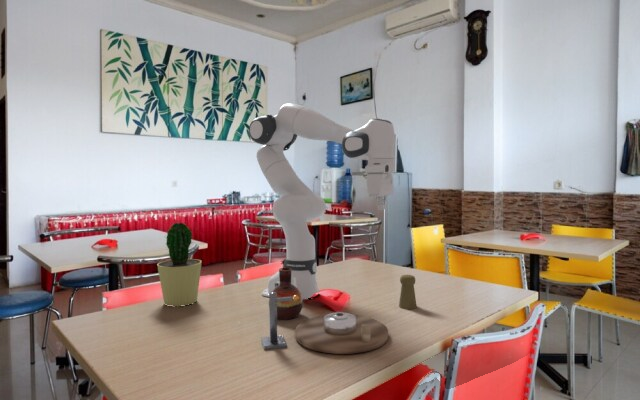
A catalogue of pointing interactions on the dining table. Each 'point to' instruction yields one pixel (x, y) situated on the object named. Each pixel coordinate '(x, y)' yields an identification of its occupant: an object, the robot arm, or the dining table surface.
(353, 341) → the lazy susan
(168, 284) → the potted cactus
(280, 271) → the vase
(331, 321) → the aluminium cover
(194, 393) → the dining table surface
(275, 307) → the post
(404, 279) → the olive pawn
